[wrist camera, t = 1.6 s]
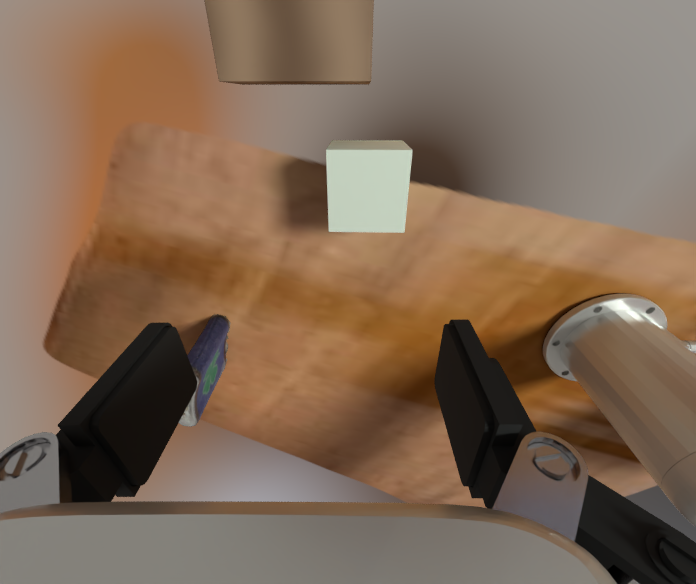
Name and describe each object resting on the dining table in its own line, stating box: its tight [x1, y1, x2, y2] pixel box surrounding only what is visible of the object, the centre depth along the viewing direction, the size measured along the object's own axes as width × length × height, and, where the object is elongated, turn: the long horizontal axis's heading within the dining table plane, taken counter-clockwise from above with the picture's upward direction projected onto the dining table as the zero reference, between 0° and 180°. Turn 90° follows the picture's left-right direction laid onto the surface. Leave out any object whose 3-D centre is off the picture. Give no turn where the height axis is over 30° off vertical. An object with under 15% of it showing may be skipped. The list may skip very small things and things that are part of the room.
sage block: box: [326, 140, 412, 233], centre depth 26 cm, size 6×6×6 cm
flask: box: [179, 314, 230, 426], centre depth 35 cm, size 9×3×11 cm, turn 164°
